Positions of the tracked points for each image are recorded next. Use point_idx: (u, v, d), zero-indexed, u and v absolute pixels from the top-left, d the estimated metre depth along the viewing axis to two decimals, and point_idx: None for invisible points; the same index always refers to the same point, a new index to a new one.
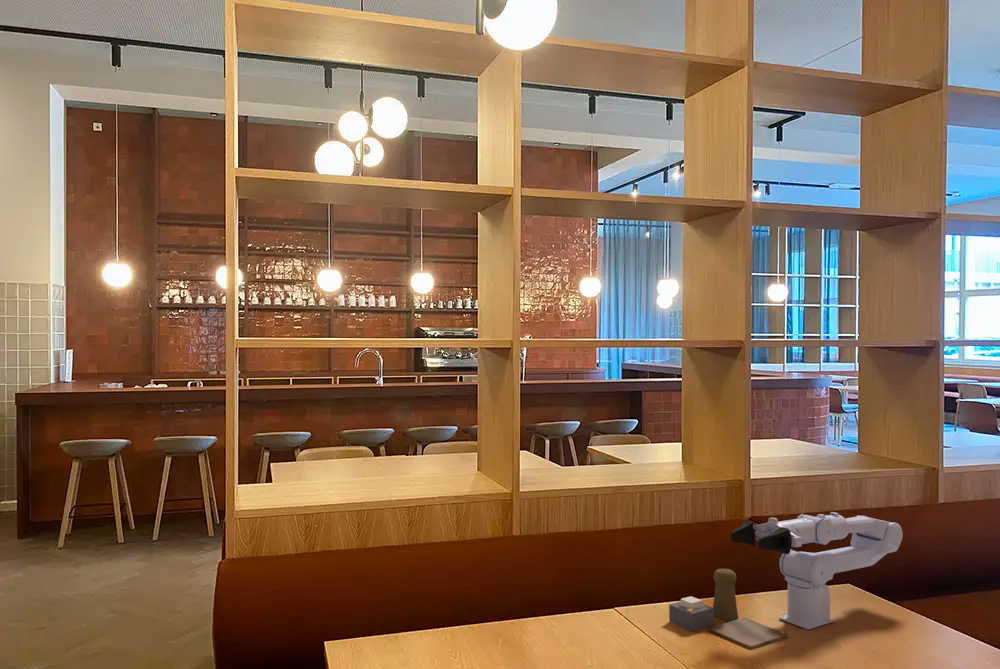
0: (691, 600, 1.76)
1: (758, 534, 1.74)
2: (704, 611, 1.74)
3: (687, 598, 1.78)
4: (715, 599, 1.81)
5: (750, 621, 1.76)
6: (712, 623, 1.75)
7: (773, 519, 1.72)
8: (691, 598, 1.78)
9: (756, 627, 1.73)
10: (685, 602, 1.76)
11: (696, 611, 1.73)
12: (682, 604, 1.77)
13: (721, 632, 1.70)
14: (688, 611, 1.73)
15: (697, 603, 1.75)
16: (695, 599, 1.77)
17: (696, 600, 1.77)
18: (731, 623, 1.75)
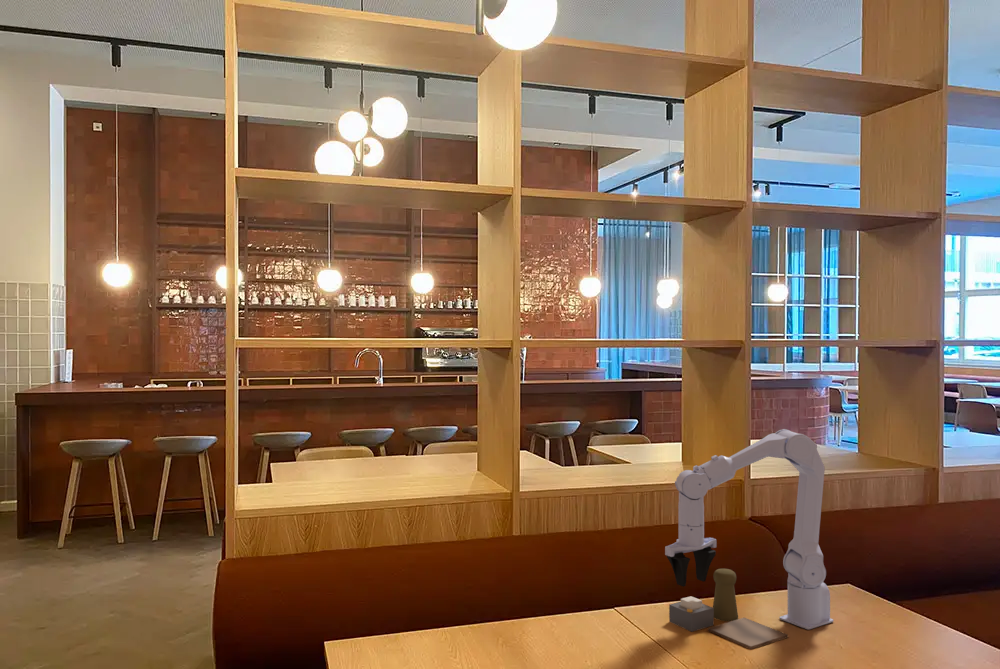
0: (691, 600, 1.76)
1: (700, 549, 1.78)
2: (704, 611, 1.74)
3: (687, 598, 1.78)
4: (715, 599, 1.81)
5: (750, 621, 1.76)
6: (712, 623, 1.75)
7: None
8: (691, 598, 1.78)
9: (756, 627, 1.73)
10: (685, 602, 1.76)
11: (696, 611, 1.73)
12: (682, 604, 1.77)
13: (721, 632, 1.70)
14: (688, 611, 1.73)
15: (697, 603, 1.75)
16: (695, 599, 1.77)
17: (696, 600, 1.77)
18: (731, 623, 1.75)
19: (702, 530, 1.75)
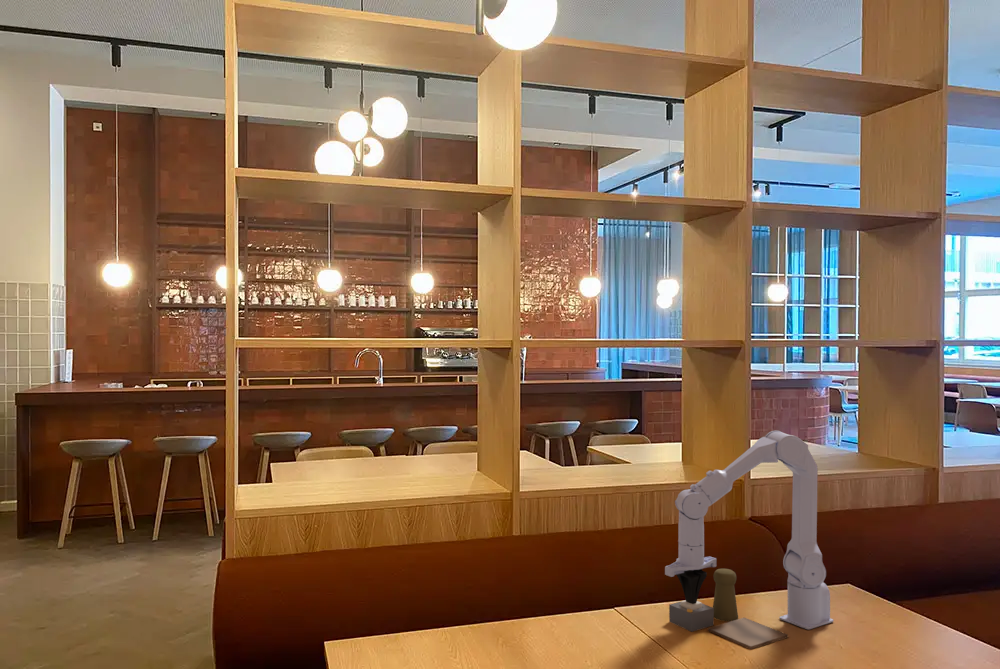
0: None
1: (700, 568, 1.78)
2: (704, 611, 1.74)
3: None
4: (715, 599, 1.81)
5: (750, 621, 1.76)
6: (712, 623, 1.75)
7: (678, 561, 1.80)
8: None
9: (756, 627, 1.73)
10: (685, 604, 1.76)
11: (696, 611, 1.73)
12: (682, 606, 1.77)
13: (721, 632, 1.70)
14: (688, 611, 1.73)
15: (697, 605, 1.75)
16: None
17: (696, 602, 1.77)
18: (731, 623, 1.75)
19: (702, 550, 1.75)
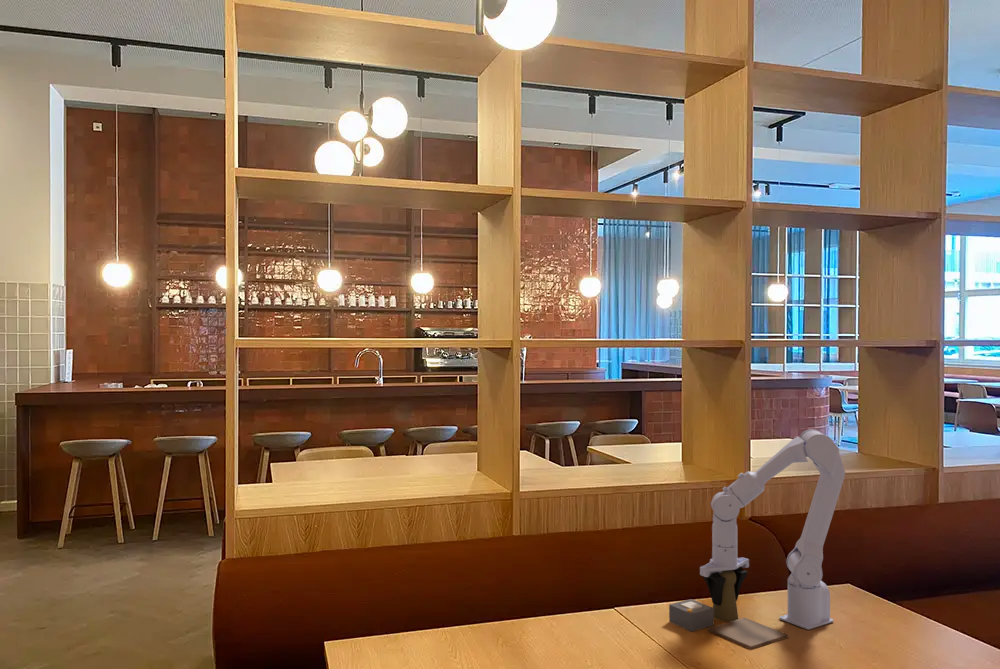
0: (691, 605, 1.76)
1: None
2: (704, 611, 1.74)
3: (687, 603, 1.78)
4: None
5: (750, 621, 1.76)
6: (712, 623, 1.75)
7: None
8: (691, 603, 1.78)
9: (756, 627, 1.73)
10: (685, 607, 1.76)
11: (696, 611, 1.73)
12: None
13: (721, 632, 1.70)
14: (688, 611, 1.73)
15: (697, 608, 1.75)
16: (695, 604, 1.77)
17: (696, 605, 1.77)
18: (731, 623, 1.75)
19: (736, 551, 1.79)
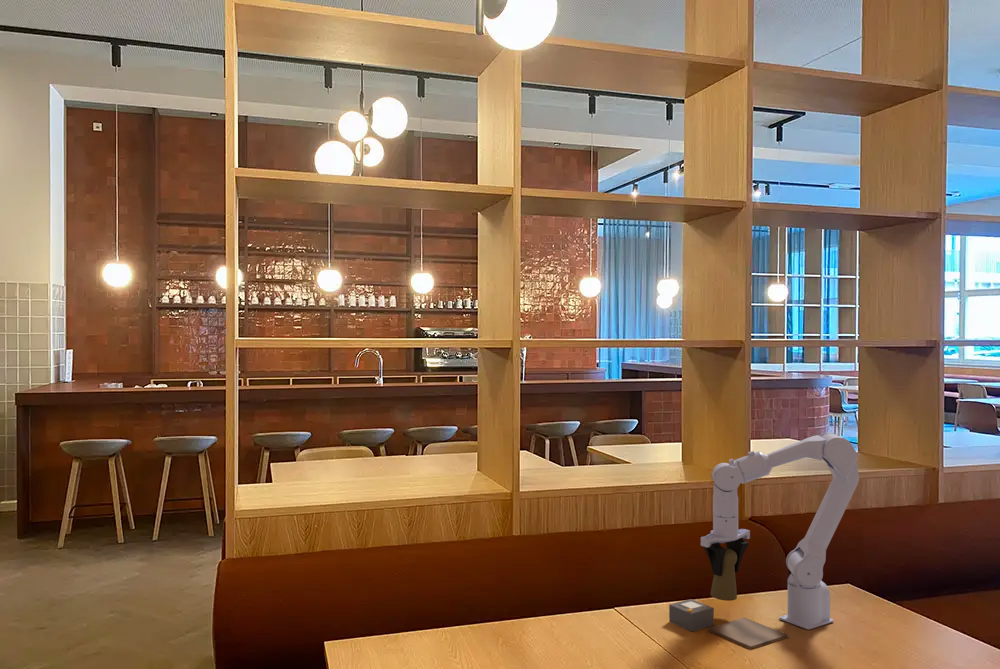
0: (691, 605, 1.76)
1: (734, 540, 1.82)
2: (704, 611, 1.74)
3: (687, 603, 1.78)
4: (714, 578, 1.81)
5: (750, 621, 1.76)
6: (712, 623, 1.75)
7: (712, 533, 1.84)
8: (691, 603, 1.78)
9: (756, 627, 1.73)
10: (685, 607, 1.76)
11: (696, 611, 1.73)
12: None
13: (721, 632, 1.70)
14: (688, 611, 1.73)
15: (697, 608, 1.75)
16: (695, 604, 1.77)
17: (696, 605, 1.77)
18: (731, 623, 1.75)
19: (736, 521, 1.79)
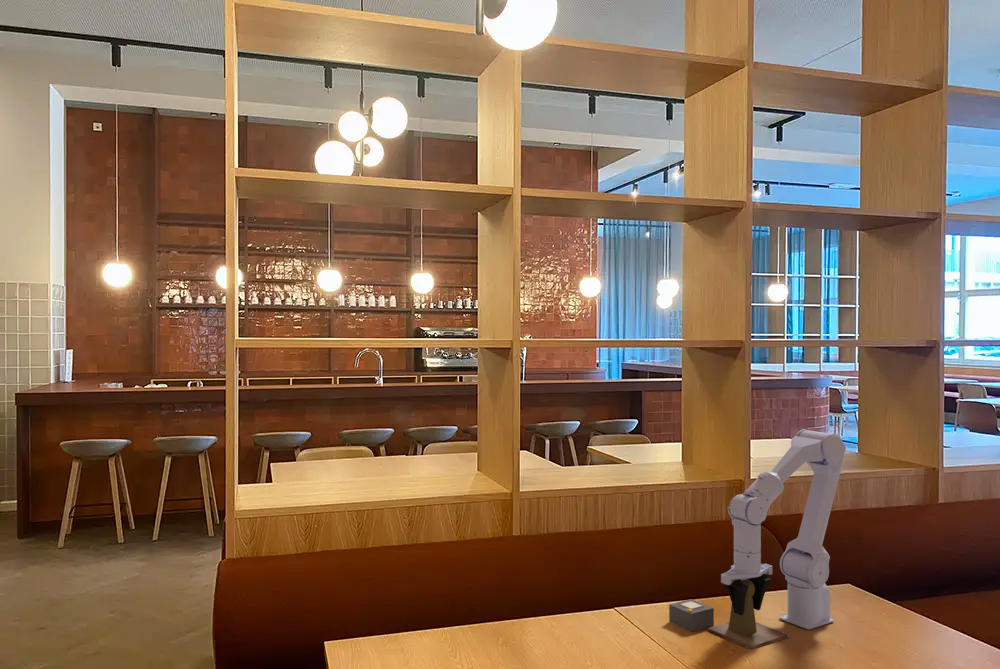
0: (691, 605, 1.76)
1: None
2: (704, 611, 1.74)
3: (687, 603, 1.78)
4: (732, 611, 1.71)
5: None
6: (712, 623, 1.75)
7: None
8: (691, 603, 1.78)
9: (756, 627, 1.73)
10: (685, 607, 1.76)
11: (696, 611, 1.73)
12: None
13: (721, 632, 1.70)
14: (688, 611, 1.73)
15: (697, 608, 1.75)
16: (695, 604, 1.77)
17: (696, 605, 1.77)
18: None
19: (759, 557, 1.69)
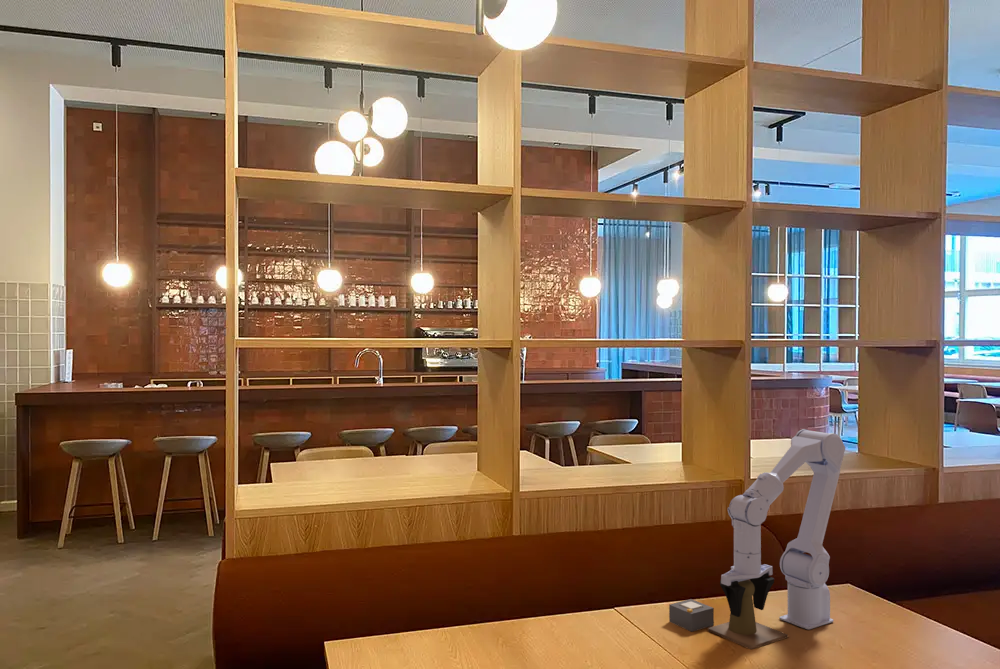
0: (691, 605, 1.76)
1: None
2: (704, 611, 1.74)
3: (687, 603, 1.78)
4: None
5: None
6: (712, 623, 1.75)
7: (732, 569, 1.74)
8: (691, 603, 1.78)
9: (756, 627, 1.73)
10: (685, 607, 1.76)
11: (696, 611, 1.73)
12: None
13: (721, 632, 1.70)
14: (688, 611, 1.73)
15: (697, 608, 1.75)
16: (695, 604, 1.77)
17: (696, 605, 1.77)
18: None
19: (759, 558, 1.69)
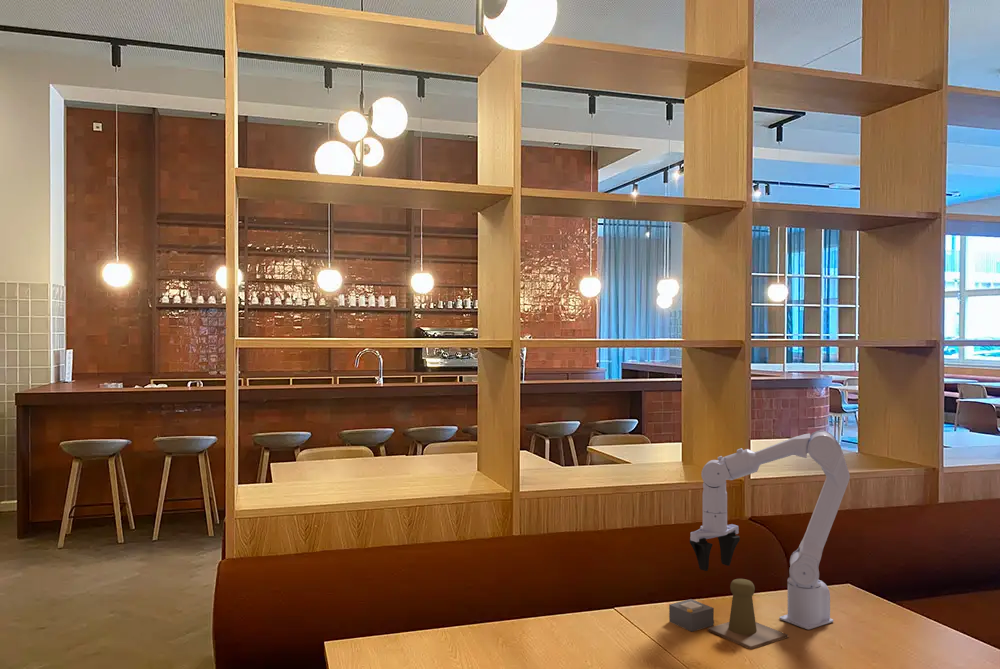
0: (691, 605, 1.76)
1: (723, 535, 1.87)
2: (704, 611, 1.74)
3: (687, 603, 1.78)
4: (732, 611, 1.71)
5: None
6: (712, 623, 1.75)
7: None
8: (691, 603, 1.78)
9: (756, 627, 1.73)
10: (685, 607, 1.76)
11: (696, 611, 1.73)
12: None
13: (721, 632, 1.70)
14: (688, 611, 1.73)
15: (697, 608, 1.75)
16: (695, 604, 1.77)
17: (696, 605, 1.77)
18: None
19: (725, 517, 1.83)
